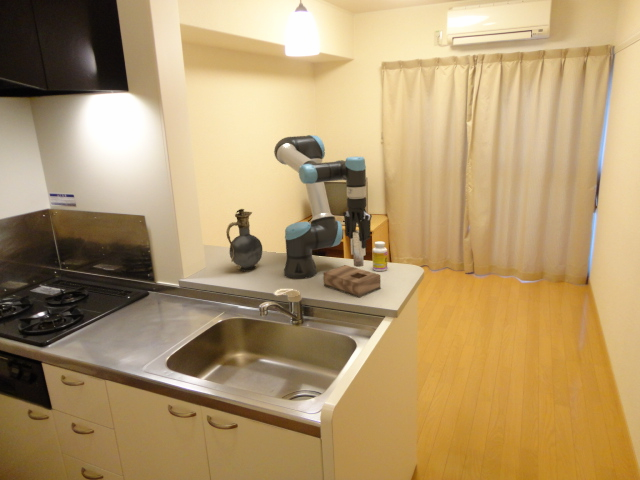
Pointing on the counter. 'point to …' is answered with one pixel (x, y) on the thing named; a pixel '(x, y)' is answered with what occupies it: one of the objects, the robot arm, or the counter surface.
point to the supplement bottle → (379, 256)
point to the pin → (357, 250)
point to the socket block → (352, 280)
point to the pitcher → (244, 243)
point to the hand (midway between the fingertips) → (358, 254)
